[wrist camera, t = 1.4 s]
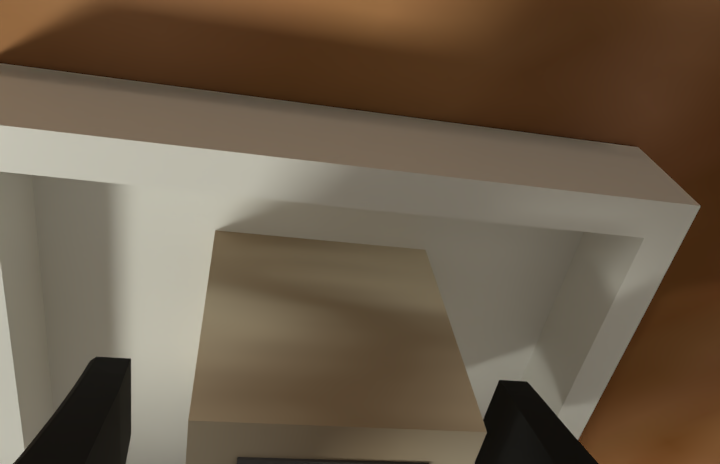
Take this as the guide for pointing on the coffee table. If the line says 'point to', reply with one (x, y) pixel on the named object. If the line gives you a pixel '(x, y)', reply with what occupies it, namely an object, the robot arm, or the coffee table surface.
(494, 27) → the coffee table surface
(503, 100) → the coffee table surface
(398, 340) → the birch block
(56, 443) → the robot arm
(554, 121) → the coffee table surface
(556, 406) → the tray
